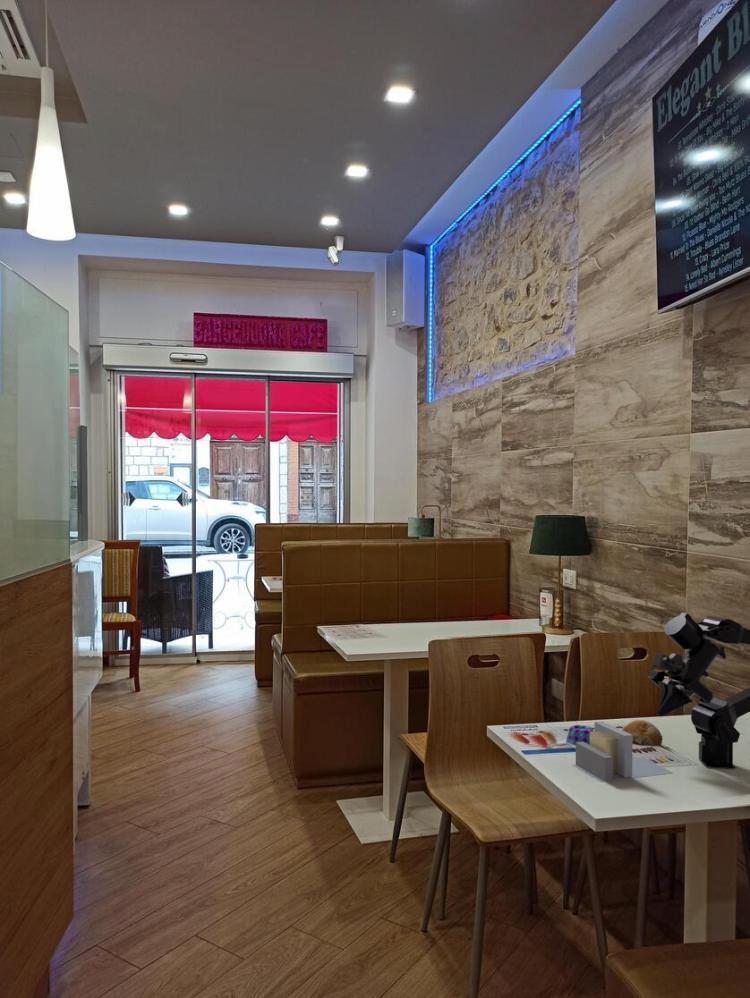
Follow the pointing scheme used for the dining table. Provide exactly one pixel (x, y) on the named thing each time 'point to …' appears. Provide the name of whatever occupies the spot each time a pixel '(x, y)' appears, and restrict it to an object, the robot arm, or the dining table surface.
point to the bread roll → (644, 732)
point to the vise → (611, 764)
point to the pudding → (577, 735)
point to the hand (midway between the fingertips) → (658, 715)
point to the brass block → (605, 745)
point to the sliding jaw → (620, 747)
